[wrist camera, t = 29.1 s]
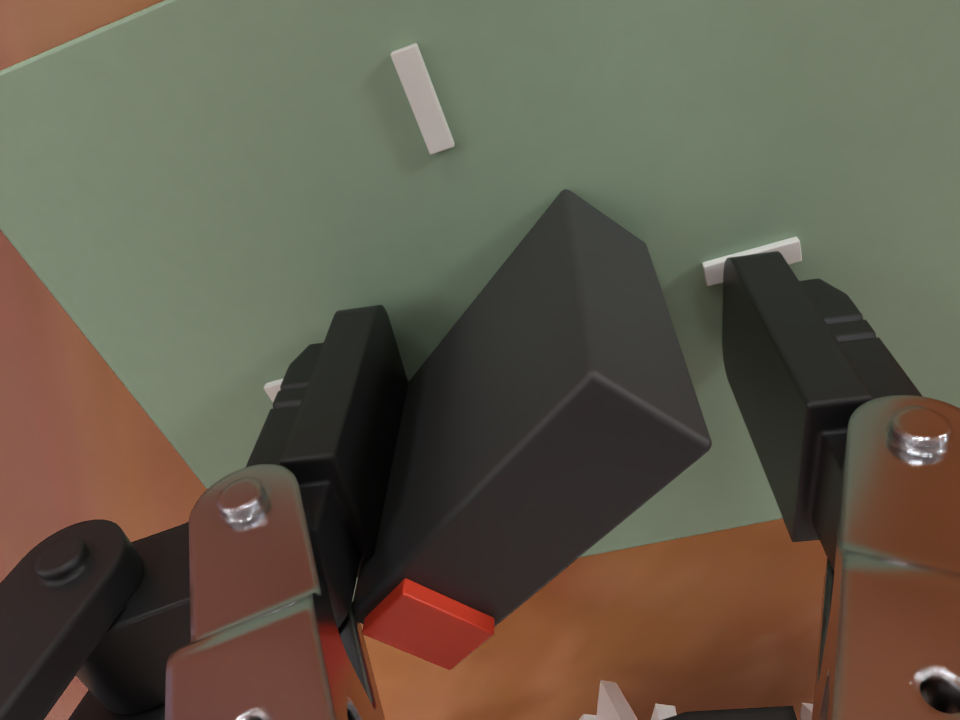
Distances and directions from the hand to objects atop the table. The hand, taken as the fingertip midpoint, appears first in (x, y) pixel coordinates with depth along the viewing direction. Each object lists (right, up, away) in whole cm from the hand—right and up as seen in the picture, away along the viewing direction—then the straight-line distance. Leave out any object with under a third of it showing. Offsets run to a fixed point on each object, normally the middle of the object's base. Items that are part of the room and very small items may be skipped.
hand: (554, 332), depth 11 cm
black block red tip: (-1, 0, 0) cm, 1 cm away
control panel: (-1, +2, +3) cm, 3 cm away
